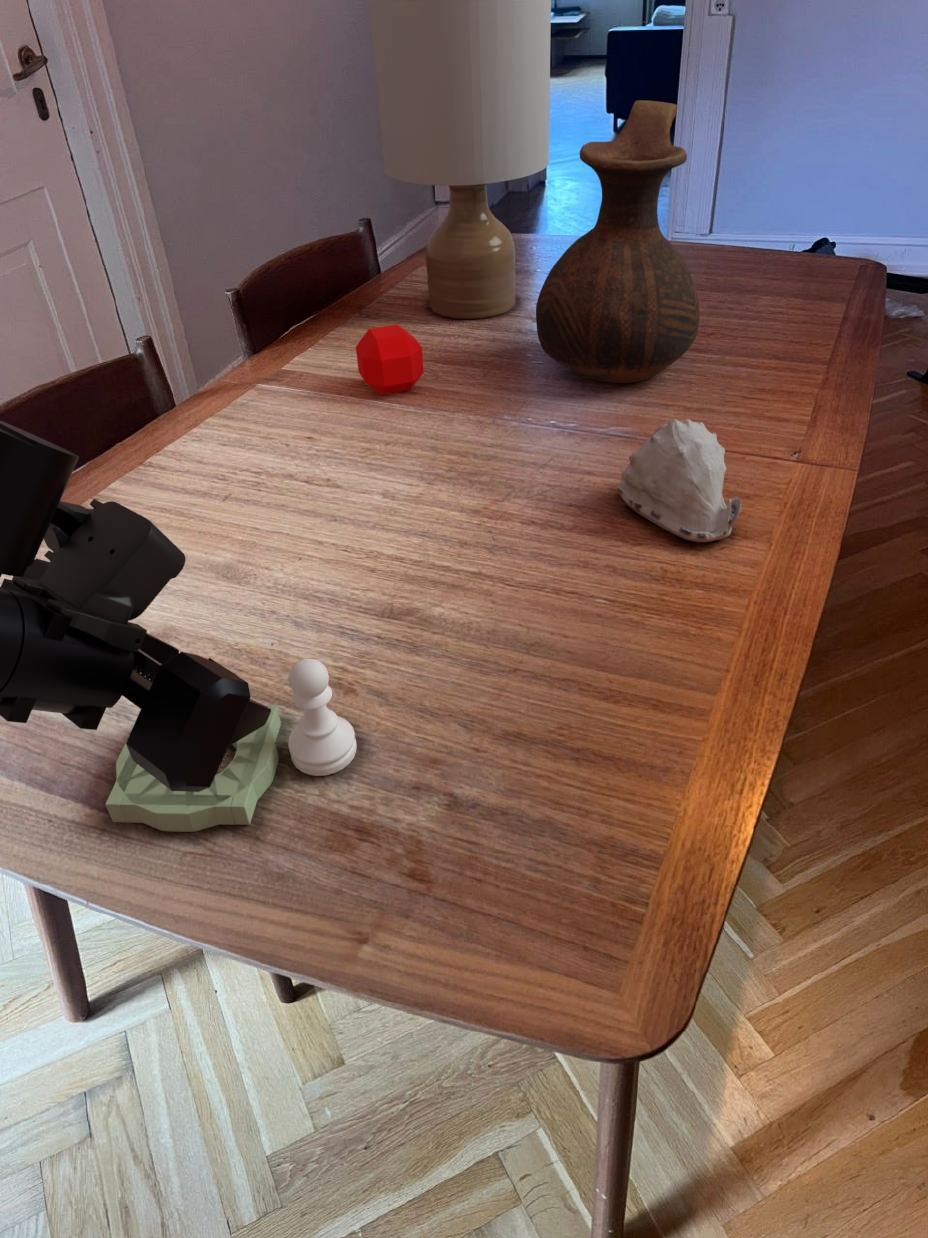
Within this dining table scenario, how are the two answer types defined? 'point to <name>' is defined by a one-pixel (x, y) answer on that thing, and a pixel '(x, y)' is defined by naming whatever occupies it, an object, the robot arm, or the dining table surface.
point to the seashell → (681, 482)
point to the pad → (194, 811)
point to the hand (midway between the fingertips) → (219, 685)
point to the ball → (389, 359)
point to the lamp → (464, 128)
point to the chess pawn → (318, 723)
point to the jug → (623, 265)
